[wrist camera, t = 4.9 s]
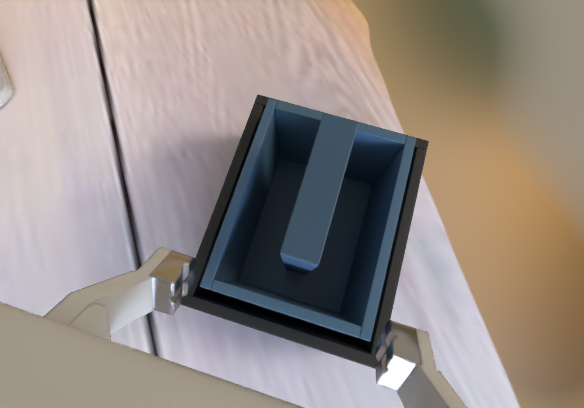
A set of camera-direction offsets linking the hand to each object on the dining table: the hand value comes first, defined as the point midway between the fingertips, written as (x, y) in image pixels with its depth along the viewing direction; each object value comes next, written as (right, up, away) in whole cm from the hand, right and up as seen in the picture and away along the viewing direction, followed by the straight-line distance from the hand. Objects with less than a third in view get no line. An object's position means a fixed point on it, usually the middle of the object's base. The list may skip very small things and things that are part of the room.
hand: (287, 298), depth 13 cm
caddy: (+2, +1, +18) cm, 18 cm away
